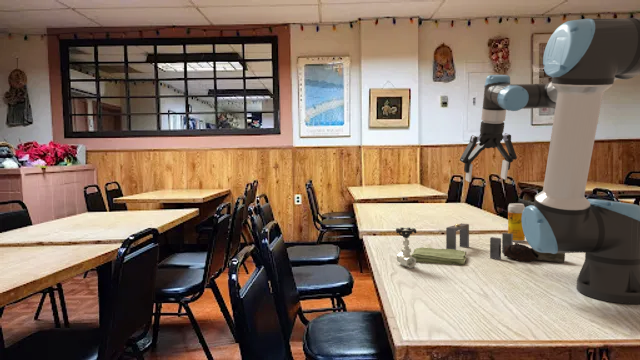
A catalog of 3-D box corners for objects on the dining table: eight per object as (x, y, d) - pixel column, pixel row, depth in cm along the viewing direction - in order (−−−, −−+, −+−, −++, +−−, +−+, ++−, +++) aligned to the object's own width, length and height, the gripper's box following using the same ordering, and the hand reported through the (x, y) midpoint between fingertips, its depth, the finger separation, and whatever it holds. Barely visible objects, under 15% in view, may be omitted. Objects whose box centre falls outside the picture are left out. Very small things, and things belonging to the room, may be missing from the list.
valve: (401, 270, 125) (401, 231, 124) (392, 264, 131) (391, 228, 130) (420, 268, 127) (420, 230, 126) (410, 263, 133) (410, 226, 132)
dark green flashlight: (562, 261, 133) (562, 244, 132) (565, 266, 126) (566, 249, 126) (503, 256, 140) (503, 240, 139) (503, 261, 133) (503, 244, 133)
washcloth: (466, 267, 128) (466, 257, 128) (409, 263, 134) (409, 253, 134) (466, 257, 140) (466, 248, 140) (414, 254, 146) (414, 245, 146)
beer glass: (504, 240, 165) (504, 203, 164) (515, 238, 167) (515, 202, 166) (517, 243, 159) (517, 205, 158) (528, 241, 162) (528, 204, 161)
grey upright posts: (499, 259, 135) (499, 232, 134) (446, 251, 148) (446, 226, 148) (512, 253, 143) (512, 227, 143) (461, 245, 157) (461, 222, 156)
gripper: (520, 117, 144) (512, 174, 151) (453, 121, 141) (448, 178, 148) (533, 121, 137) (524, 180, 144) (463, 125, 134) (457, 185, 141)
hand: (485, 179), depth 146 cm, fingers open, 13 cm apart
